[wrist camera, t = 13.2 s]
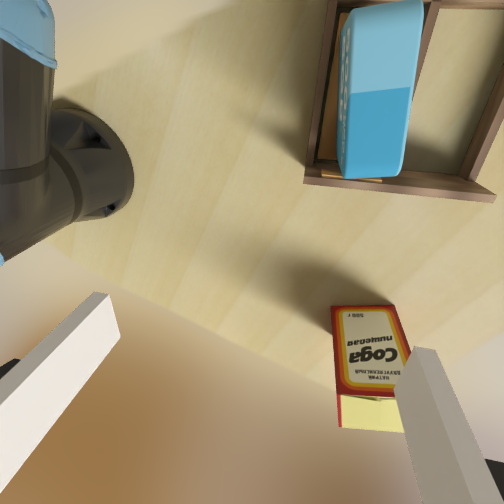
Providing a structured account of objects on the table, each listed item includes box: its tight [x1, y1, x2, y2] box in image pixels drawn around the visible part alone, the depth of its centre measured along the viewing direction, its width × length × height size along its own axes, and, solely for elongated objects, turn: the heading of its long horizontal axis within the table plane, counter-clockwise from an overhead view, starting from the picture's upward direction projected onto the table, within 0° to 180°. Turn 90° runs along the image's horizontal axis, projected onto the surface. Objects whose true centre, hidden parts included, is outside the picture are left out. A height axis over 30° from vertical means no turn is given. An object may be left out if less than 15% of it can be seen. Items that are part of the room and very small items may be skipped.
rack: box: [303, 0, 504, 203], centre depth 28 cm, size 18×17×7 cm
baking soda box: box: [331, 305, 411, 433], centre depth 40 cm, size 10×6×16 cm
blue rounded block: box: [336, 0, 424, 179], centre depth 26 cm, size 12×4×12 cm, turn 6°
